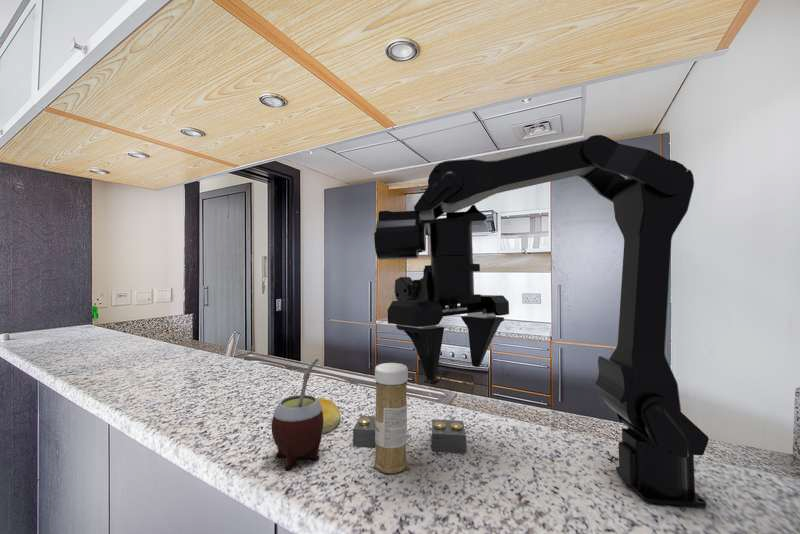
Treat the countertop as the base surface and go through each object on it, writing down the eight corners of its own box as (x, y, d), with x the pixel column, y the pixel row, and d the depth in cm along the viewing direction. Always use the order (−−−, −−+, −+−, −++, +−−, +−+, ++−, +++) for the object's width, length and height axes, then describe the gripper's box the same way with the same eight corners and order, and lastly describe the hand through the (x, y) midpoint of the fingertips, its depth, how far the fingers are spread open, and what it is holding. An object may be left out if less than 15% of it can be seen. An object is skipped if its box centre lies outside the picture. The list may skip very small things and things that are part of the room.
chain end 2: (463, 436, 52) (463, 418, 52) (466, 452, 47) (465, 432, 47) (432, 434, 53) (432, 416, 53) (431, 450, 48) (431, 430, 48)
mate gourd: (286, 444, 50) (288, 346, 50) (335, 448, 49) (336, 347, 49) (258, 472, 42) (261, 357, 43) (315, 477, 41) (317, 359, 42)
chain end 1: (390, 432, 54) (390, 414, 54) (385, 447, 49) (385, 428, 49) (360, 430, 54) (360, 413, 54) (352, 445, 49) (353, 426, 49)
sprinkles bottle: (373, 457, 46) (374, 362, 47) (405, 455, 46) (405, 361, 47) (374, 476, 41) (375, 370, 42) (409, 474, 42) (409, 370, 43)
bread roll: (281, 437, 52) (281, 412, 52) (303, 414, 61) (303, 393, 61) (330, 440, 51) (331, 414, 52) (345, 416, 60) (345, 394, 61)
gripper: (451, 262, 56) (454, 352, 56) (361, 259, 44) (363, 374, 44) (509, 258, 48) (513, 364, 47) (417, 252, 36) (420, 395, 35)
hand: (455, 372), depth 43 cm, fingers open, 9 cm apart
